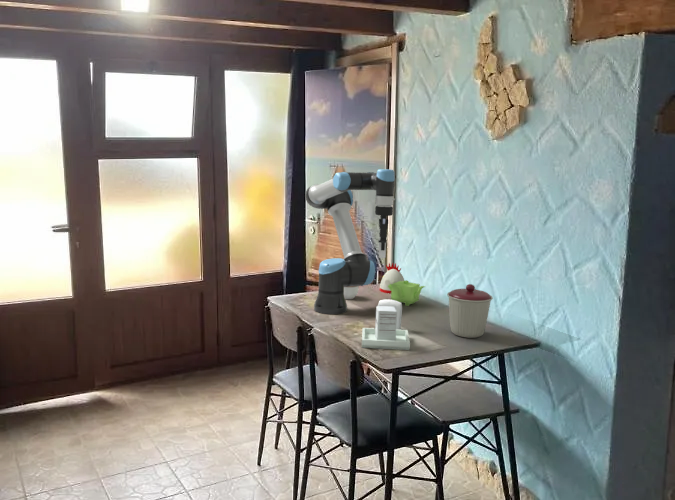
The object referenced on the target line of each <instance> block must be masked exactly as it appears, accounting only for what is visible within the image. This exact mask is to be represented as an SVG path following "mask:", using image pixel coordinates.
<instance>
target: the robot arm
mask: <svg viewBox="0 0 675 500" xmlns="http://www.w3.org/2000/svg"><path fill="white" fill-rule="evenodd" d="M395 175H396V174H395V170H393V169H389V168H388V169H386V168H378V169H377V171H376V172H372V171H368V172H367V171H366V172H347V171H342V172H336V173H335V174H334V176H333V178H331V179H328V180H326V181H324V182H322V183H315V184H312V185H310V186H309V187H308V188H307V189H306V191H305V195H304V197H305V201H306V203H307V204H308V205H309V206H311V208H315V209H321V210H322V209H324V210H327V214H328V215H329V216H330V217H332V220H333V223H334V227H335V229H336V234H337V237H338V241H339V244H340V248H341V251H342V254H343V258H341V257H337V258H335V257H333V258H327V259H324V260H322V261H321V262H319V267H318V293H317V295H316V299H315V302H314V304H313V310H314V312H317V313H320V314H324V315H325V314H327V315H339V314H344V313H346V312H347V311H348V304H347V301H346V300H347V299H345V297H344V287H350V286H359V287H360V286H361V287H363V286H369V285H370V284H372V283H373V281H374V279H375V275H376V266H375V262H374V261H373V260H371V259H368V257H367V254H365V253H364V252H362V248H361V246H360V242H359V239H358V235H357V231H356V229H355V226H354V223H353V219H352V216H351V213H350V210H351V209H352V206H353V203H354V196H353V192H352V191H375V208H374V210H375V211H374V214H375V215H376V216H379V217H380V218H378V225H379V226H378V227H379V235H378V236H379V238H378V241H377V242H378V258H379V259H385V258H386V253H387V238H388V235H387V231H388V226H389V225H388V224H389V219H388V218H387V217H390V216H393V215H394V207H393V205H394V201H395V200H396V198H394V195H395V194H394V193H395V180H396V179H395Z"/></svg>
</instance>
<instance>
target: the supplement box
mask: <svg viewBox="0 0 675 500" xmlns="http://www.w3.org/2000/svg"><path fill="white" fill-rule="evenodd" d="M375 308H376V309H375V337H376V340H390V341H396V324H397V311H396V309H395V307H393V306H378V305H376V307H375Z"/></svg>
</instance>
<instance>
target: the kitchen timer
mask: <svg viewBox="0 0 675 500" xmlns="http://www.w3.org/2000/svg"><path fill="white" fill-rule="evenodd" d="M399 267H400V266H399V265H397V263H394V262H392V263H390V262H388V265H387V264H386V265H385V268H386V269H387V271H386V272H385V273H384V275H382V277H381V281H380V284H379V291H380V292H381V293H384V294H388V293H389V295H391V290H390V289H389V288H388V285H389V284H391V285H392V284H393V283H396V282H399V281H404V280H405V278H404V275H403V274H402V272H401V271H402V267H401V268H399Z"/></svg>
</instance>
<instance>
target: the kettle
mask: <svg viewBox="0 0 675 500" xmlns="http://www.w3.org/2000/svg"><path fill="white" fill-rule="evenodd" d="M388 288H389V289H390V290H391V294H390V300H395V301H398V302H400V303H404V305H405V307H406V306H408V307H410V305H411V304H415V303H416V302H419V300H420V295H421V292H422V289H423V288H426V285H425V286H424V285H420V283H414V282H409V280H406V279H404V281H399V282H396V283H393V284H392V285H391V284H389V285H388Z"/></svg>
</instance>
